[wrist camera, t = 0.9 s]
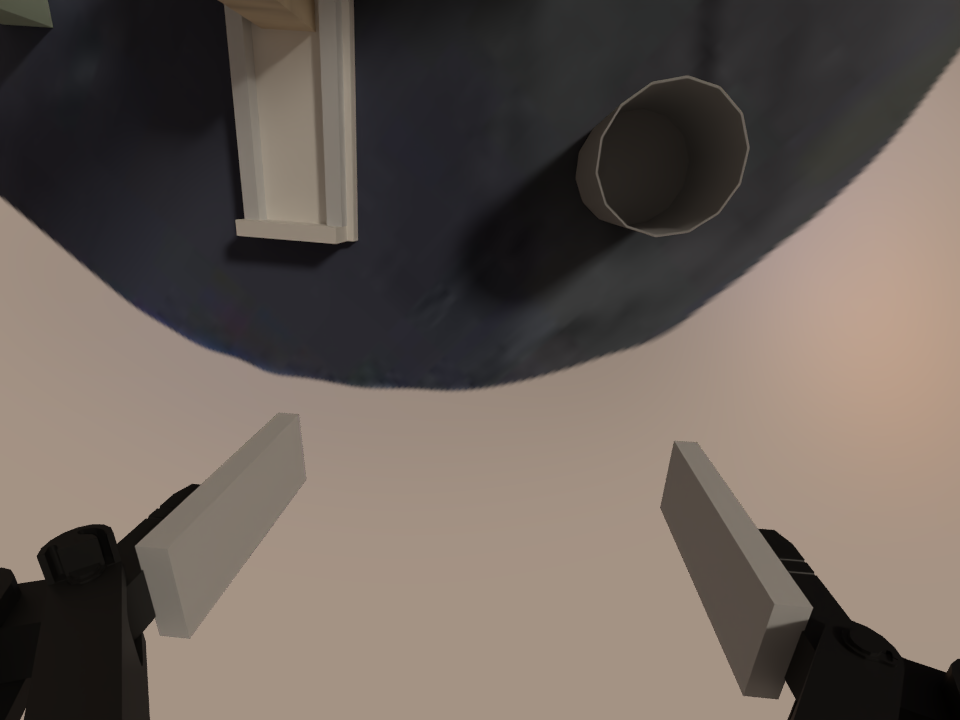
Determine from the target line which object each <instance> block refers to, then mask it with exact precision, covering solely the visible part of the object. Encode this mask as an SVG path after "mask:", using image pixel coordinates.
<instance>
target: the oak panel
mask: <svg viewBox="0 0 960 720" xmlns="http://www.w3.org/2000/svg"><path fill="white" fill-rule="evenodd" d="M218 1H220V2H221V3H223V4H225V5H226V6H228V7H229V8H231V9H232V10H234V11H235V12H237V13H238V14H240V15H241V16H243V17H245V18H246V19H248V20H249V21H251V22H252V23H254V24H255V25H257V26H258V27H260V28H262V29H277V30H294V31H310V32H316V27H315V3H314V0H218Z"/></svg>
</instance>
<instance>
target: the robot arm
mask: <svg viewBox="0 0 960 720" xmlns="http://www.w3.org/2000/svg"><path fill="white" fill-rule="evenodd" d="M305 481H306V472H305V463H304V454H303V445H302V437H301V427H300V418H299V414H287V413H278V414H277V415H276V416H274V417H273V418H272V419H271V420H270V421H269V422H268V423H267V424H266V425H265V426H264V427H263V428H262V429H260V430H259V431H258V432H257V433H256V434H255V435H254V436H253V437H252V438H251V439H250V440H249V441H247V442H246V443H245V444H244V445H243V446H242V447H241V448H240V449H239V450H238V451H237V452H236V453H235V454H233V455H232V456H231V457H230V458H229V459H228V460H227V461H226V462H225V463H224V464H223V465H222V466H221V467H219V468H218V469H217V470H216V471H215V472H214V473H213V474H212V475H211V476H210V477H209V478H208V479H207V480H205V482H203V483H202V484H201V485H199V484H191V485H190V486H188V487H186V488H184V489H182V490H180V491H178V492H177V493H175V494H173V495H172V496H171V497H170V498H169V499H168V500H166V501H165V502H164V503H163V504H162V505H161V506H160V508H159V509H156V510H155V511H154V512H153V513H152V514H150V515H149V517H148V519H145V520H144V521H142V522H141V523H140V524H139V525H138V526H137V527H136V528H135V529H134V530H132V531H131V532H130V533H129V534H128V535H127V536H126V537H124V538H123V539H122V540H121V541H120V542H119V543H118V544H117V543H116V540H115V537H114V533H113V531H112V529H111V527H108V526H106V525H100V524H92V525H87V526H83V527H78V528H75V529H73V530H70V531H67V532H65V533H63V534H61V535H59V536H57V537H55V538H54V539H52V540H50V541H49V542H48V543H47V544H46V545H45V546H44V547H42V548H41V550H40V551H39V553H38V555H37V559H38V561H39V564H40V567H41V569H42V572H43V574H44V577H45V580H40V581H34V582H27V583H20V584H17V581H16V579H15V576H14V574H13V573H12V571H11V570H9V569H5V568H0V720H20V719H21V717H22V715H23V712H24V710H25V708H26V711H25V716H24V720H150V716H149V696H148V677H147V658H146V641H145V638H144V634H143V631H144V630H145V629H146V628H147V626H148V625H149V624H150V623H151V622H152V620H153V619H154V618H155V620H156V623H157V627H158V631H159V634H160V636H169V637H179V638H189V639H190V638H191V636H192V635H193V633H194V632H195V631H196V629H197V628H198V626H199V625H200V624H201V622H202V621H203V620H204V618H205V617H206V616H207V614H208V613H209V611H210V610H211V609H212V607H213V606H214V605H215V603H216V602H217V601H218V599H219V598H220V597H221V595H222V594H223V592H224V591H225V590H226V588H227V587H228V586H229V584H230V583H231V582H232V580H233V579H234V578H235V576H236V575H237V573H238V572H239V571H240V569H241V568H242V567H243V565H244V564H245V563H246V561H247V560H248V558H249V557H250V556H251V554H252V553H253V552H254V550H255V549H256V548H257V546H258V545H259V543H260V542H261V541H262V539H263V538H264V537H265V535H266V534H267V533H268V531H269V530H270V528H271V527H272V526H273V524H274V523H275V522H276V520H277V519H278V518H279V516H280V515H281V513H282V512H283V511H284V509H285V508H286V507H287V505H288V504H289V503H290V501H291V500H292V498H293V497H294V496H295V494H296V493H297V491H298V490H299V489H300V488H301V486H302V485H303V483H304V482H305ZM660 508H661V510H662V513H663V515H664V517H665V520H666V522H667V524H668V526H669V529H670V531H671V533H672V535H673V538H674V540H675V542H676V544H677V547H678V549H679V551H680V553H681V556H682V558H683V560H684V562H685V565H686V567H687V569H688V572H689V574H690V576H691V578H692V580H693V583H694V585H695V588H696V590H697V592H698V594H699V597H700V598H701V601H702V603H703V606H704V608H705V610H706V612H707V615H708V617H709V619H710V621H711V623H712V626H713V628H714V631H715V633H716V635H717V637H718V639H719V642H720V644H721V646H722V649H723V651H724V653H725V655H726V658H727V660H728V662H729V664H730V667H731V669H732V671H733V673H734V676H735V678H736V680H737V683H738V685H739V687H740V689H741V692H742V694H743V696H752V697H761V698H771V699H779V696H780V693H781V691H782V688H783V685H784V683H785V680H786V682H787V684H788V686H789V688H790V690H791V691H792V693H793V695H794V697H795V699H796V700H795V702H794V705H793V707H792V710H791V713H790V715H789V717H788V720H960V659H957V660H956V661H954V662H953V663H952V664H951V665H950V667H949V669H948V671H947V673H946V672H943V671H940V670H937V669H934V668H931V667H928V666H925V665H922V664H919V663H916V662H913V661H910V660H907V659H905V658H902V657H901V656H900V654H899V653H898V652H897V650H896V649H895V648H894V647H893V646H892V645H891V644H890V643H889V642H888V641H887V640H886V639H885V638H883V636H881V635H879V634H878V633H876V632H875V631H873V630H871V629H870V628H868V627H866V626H864V625H861V624H859V623H856V622H854V621H851V620H850V618H849V617H848V616H847V614H846V613H845V612H844V610H843V609H842V608H841V607H840V605H839V604H838V603H837V601H836V600H835V599H834V597H833V596H832V595H831V594H830V592H829V591H828V590H827V588H826V587H825V586H824V584H823V583H822V582H821V581H820V579H819V578H818V577H817V576H815V575H814V571H813V570H812V569H811V568H810V566H809V565H808V564H807V563H805V562H804V558H803V557H802V556H801V555H800V553H799V552H798V551H797V549H796V548H795V547H794V545H793V544H792V543H790V542H789V541H788V540H787V539H785V538H784V537H783V536H781V535H780V534H779V533H777V532H776V531H775V530H766V529H758V528H757V527H756V526H755V524H754V523H753V521H752V520H751V519H750V517H749V516H748V514H747V513H746V511H745V510H744V508H743V507H742V506H741V504H740V503H739V502H738V500H737V498H736V497H735V496H734V494H733V493H732V492H731V490H730V488H729V487H728V486H727V484H726V483H725V481H724V480H723V478H722V477H721V476H720V474H719V473H718V471H717V470H716V469H715V467H714V466H713V464H712V463H711V461H710V460H709V458H708V457H707V456H706V454H705V453H704V451H703V450H702V449H701V447H700V446H699V444H698V443H697V442H683V441H674V444H673V449H672V454H671V459H670V463H669V468H668V474H667V478H666V483H665V488H664V492H663V497H662V502H661V507H660Z"/></svg>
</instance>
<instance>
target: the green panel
mask: <svg viewBox="0 0 960 720" xmlns="http://www.w3.org/2000/svg"><path fill="white" fill-rule="evenodd" d="M0 24H3V25H18V26H34V27H50V28H53V24H52V19H51V15H50V10H49V5H48V0H0Z"/></svg>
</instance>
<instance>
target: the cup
mask: <svg viewBox="0 0 960 720" xmlns="http://www.w3.org/2000/svg"><path fill="white" fill-rule="evenodd" d="M749 149H750V147H749V142H748V137H747V132H746V127H745V121H744V116H743V112H742V111H741V110H740V109H739V108H738V107H737V105H736V104H735V103H734V102H733V101H732V99H731V98H730V97H729V96H728V95H727V93H726V92H725V91H724V90H723V89H722V88H721V87H720V86H718V85H715V84H712V83H709V82H706V81H703V80H700V79H697V78H694V77H691V76H688V75H687V76H682V77H676V78H671V79H666V80H660V81H655V82H651V83H650V84H648V85H647V86H646V87H644V88H643V89H641V90H640V91H639V92H637V93H636V94H634V95H633V96H632V97H630V98H629V99H627V100H626V101H625V102H623V103H622V104H621V105H619V106H618V107H617V108H616V109H615V110H614V111H613V112H611V113H610V114H609V115H608V116H607V117H606V118H605V119H604V120H602V121H601V122H600V123H599V124H598V125H597V126H596V127H594V128H593V130H592V131H591V133H590V135H589V136H588V138H587V140H586V141H585V143H584V145H583V146H582V148H581V150H580V151H579V155H578V163H577V170H576V178H575V179H576V182H577V186H578V189H579V192H580V195H581V199H582V202H583V203H584V204H585V205H586V206H587V207H588V208H589V209H590V211H591V212H592V213H593V214H594V215H595V216H596V217H597V218H598V219H600V220H603V221H606V222H609V223H612V224H615V225H618V226H621V227H624V228H628V229H631V230H634V231H637V232H641V233H644V234H647V235H650V236H654V237H661V236H668V235H675V234H682V233H689V232H690V231H692V230H694V229H695V228H697V227H698V226H700V225H702V224H703V223H705V222H706V221H708V220H710V219H711V218H713V217H715V216H716V215H718V214H719V213H720V212H721V210H722V209H723V207H724V206H725V205H726V203H727V202H728V201H729V199H730V198H731V197H732V195H733V194H734V193H735V191H736V190H737V188H738V187H739V186H740V184H741V181H742V177H743V173H744V169H745V165H746V161H747V157H748V153H749Z"/></svg>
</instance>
